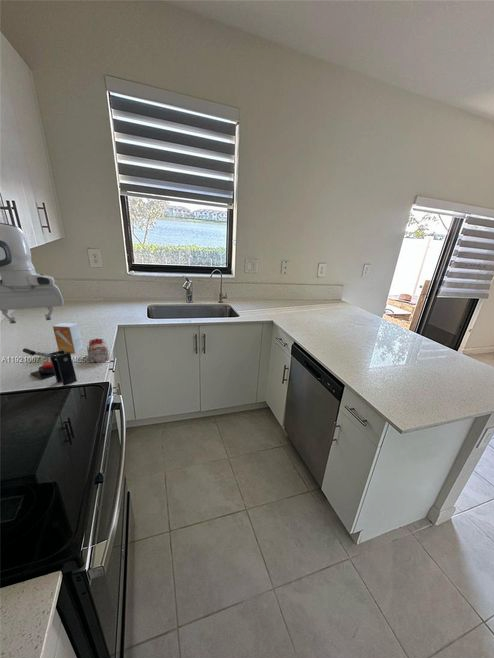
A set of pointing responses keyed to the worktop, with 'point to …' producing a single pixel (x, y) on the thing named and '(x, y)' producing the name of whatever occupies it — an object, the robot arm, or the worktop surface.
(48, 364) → the button
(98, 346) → the food item
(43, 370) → the control block
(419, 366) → the worktop surface
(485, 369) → the worktop surface
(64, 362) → the bracket
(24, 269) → the robot arm
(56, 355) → the lever
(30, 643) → the worktop surface
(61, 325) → the small box
